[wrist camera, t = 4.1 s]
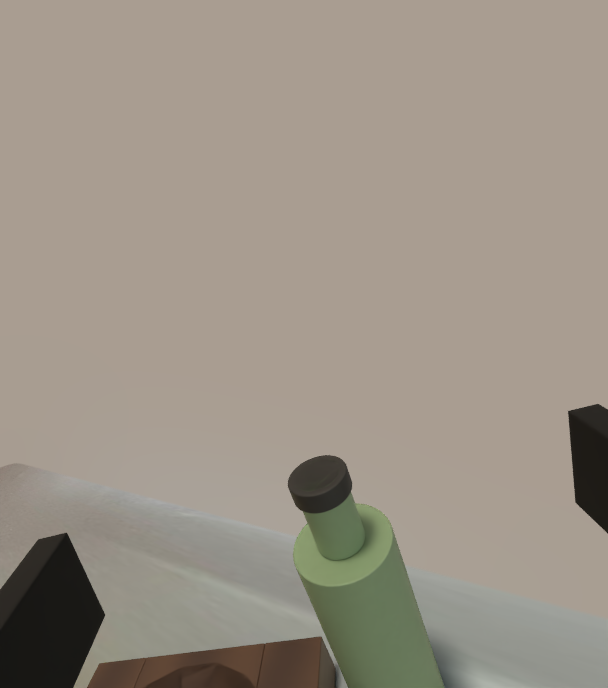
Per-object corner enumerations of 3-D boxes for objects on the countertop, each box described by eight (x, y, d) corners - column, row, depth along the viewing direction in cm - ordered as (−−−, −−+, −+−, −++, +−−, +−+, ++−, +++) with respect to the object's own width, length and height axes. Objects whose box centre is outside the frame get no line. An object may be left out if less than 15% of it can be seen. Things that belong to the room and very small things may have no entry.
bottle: (438, 648, 27) (368, 432, 22) (455, 747, 23) (372, 503, 17) (358, 657, 28) (274, 452, 23) (359, 753, 24) (254, 524, 18)
